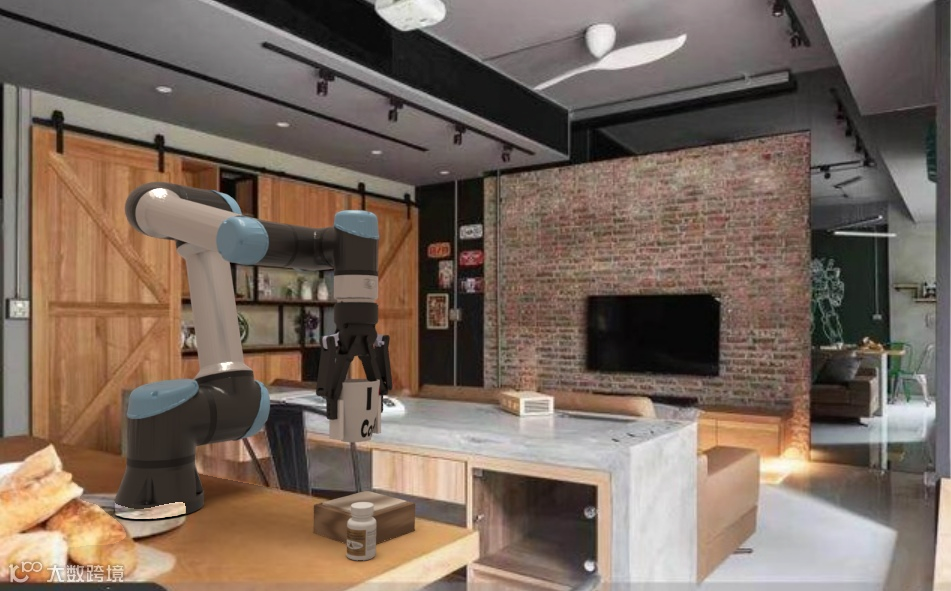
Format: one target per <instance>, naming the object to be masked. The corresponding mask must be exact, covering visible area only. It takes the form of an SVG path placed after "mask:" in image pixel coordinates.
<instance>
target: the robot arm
mask: <svg viewBox="0 0 951 591" xmlns="http://www.w3.org/2000/svg"><path fill="white" fill-rule="evenodd" d="M124 215H125V217H126V220H127V222H128V224H129V225H130V226H131V227H132V228H133V229H134V230H135V231H136V232H139V233H140V234H142V235H145V236H147V237H150V238H156V239H162V240H169V241H174V242H175V247H176V249H175V250H176V253H177V255H178V256H180V257H181V258H182V259H184V260H185V264H186V271H187V272H186V274H187V281H188V289H189V296H190V303H191V304H190V305H191V311H192V320H193V328H194V335H195V342H196V350H197V355H198V363H199V364H198V365H199V371H198V373H197V374H196V375H195V376H194V378H193V379H192V378H176V379H166V380H159V381H155V382H149V383H146V384H142V385H140V386H138V387H136V388H134V389H133V390H132V391H131V393H130V395H129V398H128V406H127V412H126V417H127V425H126V426H127V427H126V428H127V429H126V430H127V431H126V433H127V434H126V462H125V463H126V464H125V471H124V474H123V477H122V479H121V482H120V485H119V486H118V489H117V492H116V495H115V497H114V500H113V502H114V501H115V503H116V504H118V505H121V506H125V507H128V508H134V509H144V508H151V507H155V506H159V505H164V504H169V503H175V502H183V503H185V506H186V514H185V515H187V514H191V513H194V512H196V511H198V510H200V509H201V508H203V507H204V504H205V491H204V487H203V485H202V481H201V479H200V478H201V477H200V476H199V475H200V474H199V472H198V469H197V465H196V455H197V454H196V451H197V447H199V446H207V445H212V444H219V443H225V442H231V441H232V442H237V441H240V440H241V441H242V440H243V439H247V438H250V437H253V436H255V435H257V434H259V432H260V431H262V429H263V428H264V426H265V423H266V422H267V421H268V418H269V415H270V411H271V399H270V393H269V390H268V388H267V387H265V384H264V383H263V382H261V381H259V380H257V379H255V376H254V375H255V374H254V369H252V368H251V367H249V366H248V365H247V364H246V363H245V360H244V352H243V347H242V339H241V334H240V333H241V332H240V324H239V319H238V311H237V305H236V298H235V291H234V284H233V277H232V270H231V264H230V263H234V264H239V265H241V266H242V265H243V266H249V265H253V266H254V265H255V266H265V267H278V268H285V269H287V268H289V269H293V270H294V271H297V272H310V273H312V272H316V271H323V270H330V269H331V270H332V269H334V270H333V299H334V300H336V301H337V302H335V304H333V323H334V324H335V330H334V332H333V334H331V335H322V336H321V335H320V337H319V345H320V355H319V356H320V358H319V364H318V370H317V371H318V373H317V379H316V389H315V396H317V397H321V398H322V399H324V400H325V402H326V414H325V416H326V419H327V420H329V423H328V424H329V425H328V426H329V428H328V430H329V431H328V433H329V434H328V438H329V440H335V441H341V440H343V430H344V400H338V399H339V397H340V394H341V391H342V388H343V383H344V382H345V379H347V375H348V372H349V369H350V365H351V363H352V362H353V361H354V360H355V357H357V358H358V360H360V361H361V365H362V368H363V371H364V374H365V377H366V378H365V379H367V380H368V381H370V382H373V381H377V379H378V380H380V387H379V405H378V411H377V417H376V423H375V427H374V431H373V434H376V435H377V434H378V435H379V434H381V433H382V414H383V413H384V396H387V395H388V393H389V391H392V389H393V378H392V369H391V367H392V366H391V360H390V359H391V358H390V351H389V350H390V349H389V347H390V346H389V345H390V340H391V337H390V335H389V334H379V333H378V331H377V328H376V325H377V324H378V323H379V304H378V303H377V302H376V300H378V299H379V249H380V248H379V246H380V234H379V233H380V230H379V220H378V217H377V215H376V214H375V213H374V212H372V211H367V210H359V209H358V210H357V209H356V210H355V209H348V210H340V211H339V212H336V213H335V214H334V220H333V221H334V222H333V224H332V226H327V227H326V226H325V227H310V226H302V225H295V224H289V223H281V222H275V221H270V220H265V219H260V218H256V217H253V216H248V215H244V214H243V213H242V210H241V208H240V206H239V204H238V202H237V201H236V200H235V199H234V198H233V197H231V196H230V195H229V194H227V193H223V192H219V191H218V190H214V189H203V188H197V187H193V186H186V185H180V184H176V183H171V182H165V181H152V182H151V181H150V182H147V183H142V184H141V185H139V186H137V187H136V188H134V189H133V190H131V192H130V193H129V194H128V196H127V198H126V200H125V203H124Z"/></svg>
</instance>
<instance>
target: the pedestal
mask: <svg viewBox="0 0 951 591" xmlns="http://www.w3.org/2000/svg"><path fill="white" fill-rule="evenodd" d="M357 502H370V503H372V504H373V505H374V512H373V515H372V517H373V518H375V520H376V543H378V544H380V543H379V542H381V543H383V542H382V541H384V540H387V539H389V540H391V539H390V538H392V539H394V538H393V537H395V538H397V537H396V536H398V537H400V536H399V535H401V536H403V535H406V534H409V533H411V532H414V531H415V530H416V503H415V502H411V501H407V500H404V499H400V498H397V497H393V496H389V495H386V494H382V493H378V492H373V491H370V490H364V491H360V492H357V493H353V494H350V495H346V496H342V497H341V496H340V497H337V498H334V499H331V500H326V501H322V502H320V503H316V504H313V526H312V527H313V530H312V533H313V534H316V535H319V536H323V537H325V538H329V539H331V540H333V539H334V540H333V541H337V542H339V541H340V542H339V543H342V542H343V544H345V543H347V522H348V520H349V519H350V518H352V516H351V505H352V504H353V503H357ZM405 533H406V534H405ZM402 534H403V535H402ZM387 541H388V540H387ZM384 542H385V541H384Z"/></svg>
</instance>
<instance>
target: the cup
mask: <svg viewBox="0 0 951 591" xmlns="http://www.w3.org/2000/svg"><path fill="white" fill-rule="evenodd" d="M379 387H380V380H378V379H377V381H373V382H370V381H368V380H367V378H346V379H345V382H344V383H343V388H342V391H341V394H340V397H339V399H338V400H344V430H343V440H340V441H341V442H343V443H362V442H369V441H371V440H372V437H373V434H374V433H373V431H374V427H375V423H376V417H377V411H378V405H379Z"/></svg>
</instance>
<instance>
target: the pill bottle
mask: <svg viewBox="0 0 951 591" xmlns="http://www.w3.org/2000/svg"><path fill="white" fill-rule="evenodd" d="M373 512H374V505H373V504H372V503H370V502H357V503H353V504H352V505H351V516H352V518H350V519H349V520H348V522H347V544H346V557H347V558H348V559H349V560H353V561H358V560H363V561H368V560H371V559H373V558H374V557H375V556H376V554H377V550H376V549H377V544H376V520H375V518H373V517H372V515H373Z"/></svg>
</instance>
